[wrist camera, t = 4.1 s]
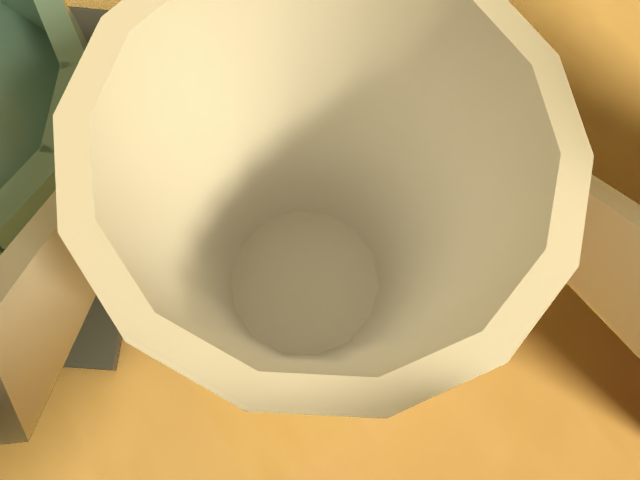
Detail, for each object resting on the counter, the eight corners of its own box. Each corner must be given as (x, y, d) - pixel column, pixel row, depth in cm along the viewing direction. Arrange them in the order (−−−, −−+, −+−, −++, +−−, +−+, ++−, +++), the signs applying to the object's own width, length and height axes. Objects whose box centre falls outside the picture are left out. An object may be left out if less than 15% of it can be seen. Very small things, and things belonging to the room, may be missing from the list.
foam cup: (146, 254, 21) (-46, 65, 9) (327, 141, 23) (374, -143, 11) (277, 454, 20) (261, 562, 7) (461, 312, 22) (699, 205, 9)
